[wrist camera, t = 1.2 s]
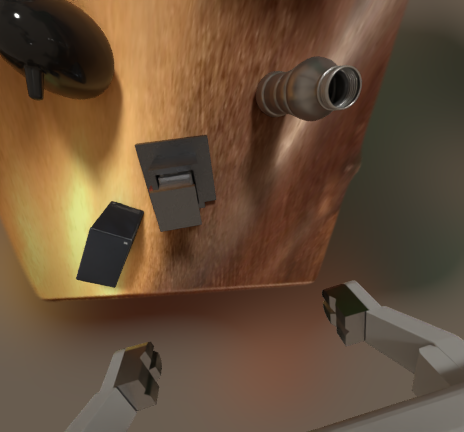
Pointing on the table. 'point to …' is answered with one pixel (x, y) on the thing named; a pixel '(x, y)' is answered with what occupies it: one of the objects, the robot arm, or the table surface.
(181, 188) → the column
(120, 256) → the small box
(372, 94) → the table surface
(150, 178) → the stand
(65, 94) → the pump dispenser
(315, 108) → the plastic bottle
